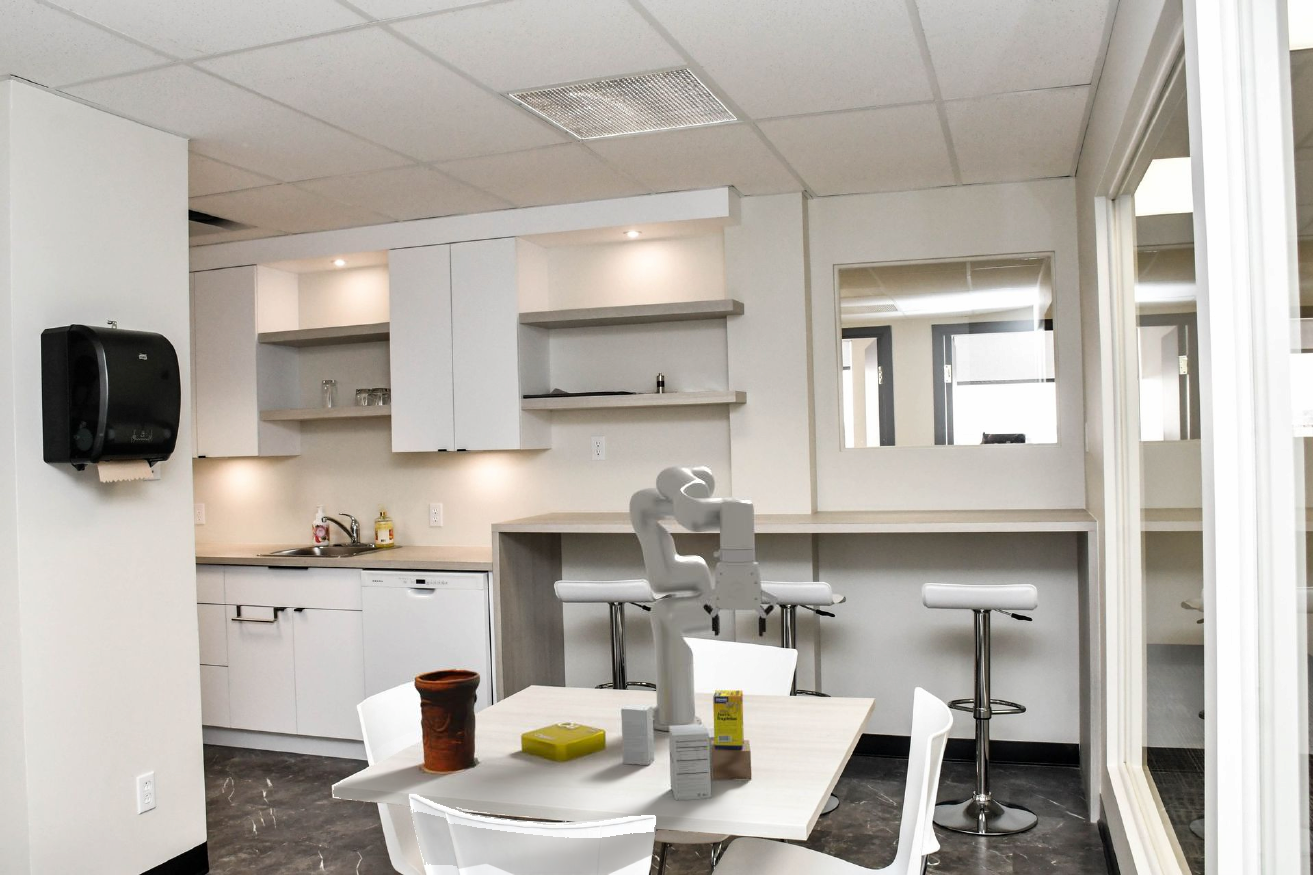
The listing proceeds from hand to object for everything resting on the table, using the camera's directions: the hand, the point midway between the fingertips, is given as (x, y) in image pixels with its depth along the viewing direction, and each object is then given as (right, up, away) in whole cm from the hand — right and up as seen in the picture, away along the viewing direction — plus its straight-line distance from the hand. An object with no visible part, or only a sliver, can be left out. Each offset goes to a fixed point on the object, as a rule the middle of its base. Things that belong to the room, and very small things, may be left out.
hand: (739, 634), depth 218 cm
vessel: (-64, -30, +4) cm, 71 cm away
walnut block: (-2, -27, -9) cm, 29 cm away
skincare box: (-22, -28, +1) cm, 36 cm away
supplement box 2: (-3, -22, -9) cm, 24 cm away
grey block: (-5, -28, +1) cm, 28 cm away
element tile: (-39, -30, +13) cm, 51 cm away
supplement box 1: (-11, -27, -21) cm, 36 cm away
